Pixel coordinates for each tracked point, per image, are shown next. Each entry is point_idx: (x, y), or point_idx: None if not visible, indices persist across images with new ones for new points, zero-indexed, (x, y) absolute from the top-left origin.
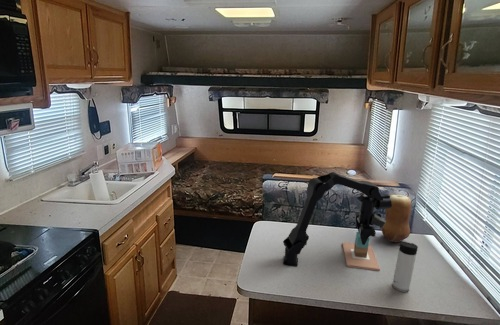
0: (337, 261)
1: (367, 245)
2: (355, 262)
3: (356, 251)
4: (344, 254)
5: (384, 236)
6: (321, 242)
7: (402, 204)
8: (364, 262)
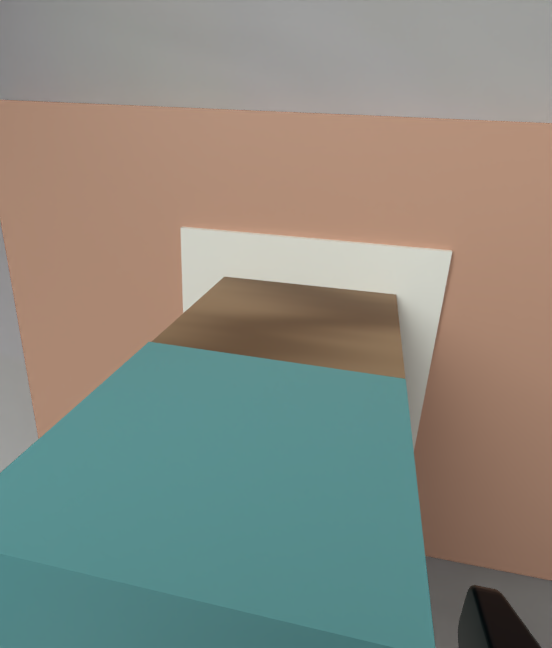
0: (455, 614)
1: (403, 439)
2: (528, 478)
3: None
4: None
5: None
6: None
7: None
8: (527, 356)
